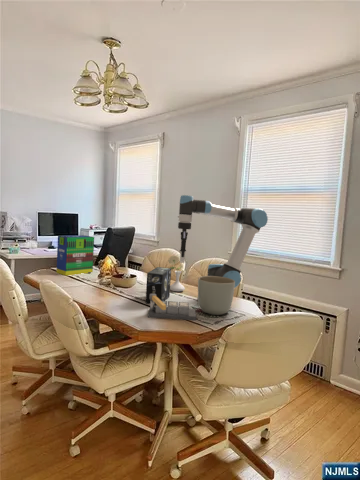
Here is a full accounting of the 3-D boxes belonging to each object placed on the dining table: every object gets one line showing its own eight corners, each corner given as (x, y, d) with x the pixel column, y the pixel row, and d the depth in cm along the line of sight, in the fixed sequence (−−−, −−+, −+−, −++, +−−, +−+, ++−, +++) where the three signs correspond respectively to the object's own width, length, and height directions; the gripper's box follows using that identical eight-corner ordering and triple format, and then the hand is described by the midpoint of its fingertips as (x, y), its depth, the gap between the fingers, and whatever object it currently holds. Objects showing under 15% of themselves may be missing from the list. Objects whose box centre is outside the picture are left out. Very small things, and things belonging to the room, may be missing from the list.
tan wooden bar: (148, 298, 185) (148, 293, 185) (155, 298, 186) (155, 293, 186) (160, 310, 164) (160, 305, 164) (167, 310, 166) (167, 304, 165)
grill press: (194, 312, 192) (195, 299, 192) (195, 320, 178) (196, 306, 178) (150, 309, 192) (150, 296, 191) (148, 317, 178) (148, 303, 177)
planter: (205, 304, 210) (208, 274, 208) (237, 311, 199) (240, 279, 198) (189, 312, 192) (191, 279, 190) (223, 320, 181) (226, 285, 180)
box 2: (161, 305, 202) (163, 274, 200) (144, 303, 203) (146, 272, 202) (170, 296, 224) (171, 268, 223) (155, 294, 226) (157, 266, 225)
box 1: (83, 270, 295) (84, 235, 292) (92, 272, 286) (94, 237, 284) (56, 272, 276) (57, 235, 273) (65, 275, 267) (67, 237, 265)
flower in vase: (184, 289, 248) (186, 255, 246) (185, 293, 236) (187, 257, 234) (166, 288, 247) (168, 254, 245) (166, 291, 236) (168, 256, 234)
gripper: (178, 221, 204) (175, 260, 206) (178, 222, 191) (175, 263, 193) (190, 222, 205) (188, 261, 206) (191, 223, 192) (188, 264, 194)
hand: (182, 262), depth 200 cm, fingers closed
